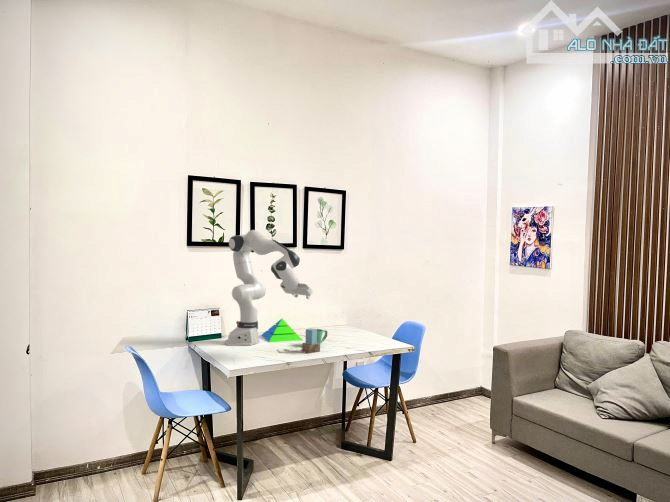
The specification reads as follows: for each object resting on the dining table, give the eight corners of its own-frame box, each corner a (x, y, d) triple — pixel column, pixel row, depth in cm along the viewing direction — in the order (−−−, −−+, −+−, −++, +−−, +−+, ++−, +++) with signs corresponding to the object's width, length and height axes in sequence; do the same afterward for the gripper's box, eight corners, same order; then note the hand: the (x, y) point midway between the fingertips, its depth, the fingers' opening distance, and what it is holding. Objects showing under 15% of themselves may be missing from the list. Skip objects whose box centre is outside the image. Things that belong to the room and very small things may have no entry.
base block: (309, 353, 290) (309, 345, 290) (302, 351, 297) (302, 343, 296) (320, 352, 295) (320, 344, 295) (312, 349, 302) (312, 341, 301)
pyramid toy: (260, 335, 340) (260, 315, 339) (294, 333, 348) (294, 314, 348) (268, 343, 316) (268, 322, 316) (303, 341, 325) (304, 320, 324)
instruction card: (280, 352, 291) (280, 352, 291) (276, 350, 297) (276, 349, 297) (295, 351, 295) (295, 350, 295) (291, 348, 301) (291, 348, 301)
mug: (314, 348, 304) (314, 332, 304) (304, 345, 311) (305, 329, 311) (331, 344, 314) (331, 329, 313) (321, 342, 321) (322, 327, 321)
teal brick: (311, 344, 292) (312, 330, 292) (305, 343, 295) (305, 329, 294) (316, 343, 296) (317, 329, 296) (310, 342, 299) (310, 328, 299)
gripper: (308, 280, 283) (318, 295, 291) (282, 277, 295) (292, 292, 303) (303, 288, 279) (313, 303, 288) (277, 285, 291) (287, 299, 299)
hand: (302, 297), depth 295 cm, fingers open, 8 cm apart
